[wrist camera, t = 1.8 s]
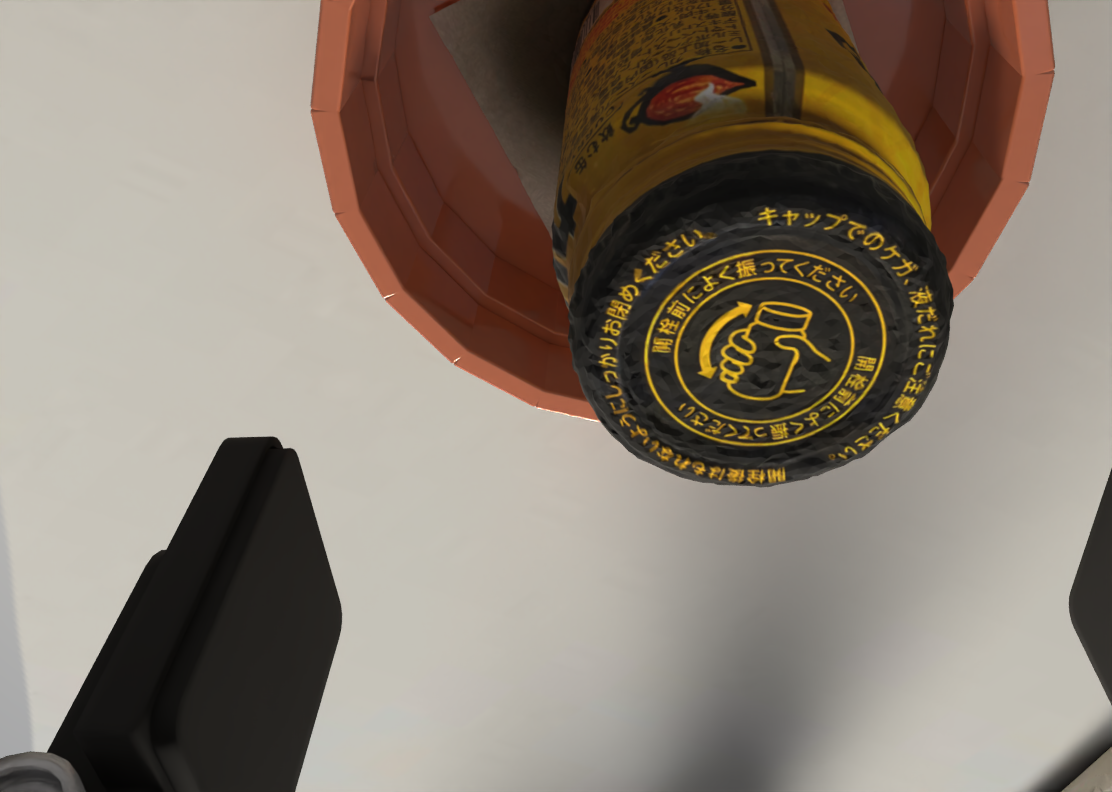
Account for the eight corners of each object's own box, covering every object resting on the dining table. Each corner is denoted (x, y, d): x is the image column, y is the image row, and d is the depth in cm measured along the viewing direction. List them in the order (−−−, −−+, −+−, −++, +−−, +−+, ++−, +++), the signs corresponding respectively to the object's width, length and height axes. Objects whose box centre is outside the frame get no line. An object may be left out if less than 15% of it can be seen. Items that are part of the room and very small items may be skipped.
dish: (299, -266, 20) (227, -251, 16) (1045, -331, 19) (1148, -330, 15) (412, 337, 28) (382, 435, 25) (929, 320, 27) (976, 421, 23)
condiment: (885, 138, 24) (1065, 460, 14) (569, 267, 26) (538, 614, 17) (788, -175, 20) (944, -26, 10) (430, 11, 23) (287, 269, 13)
